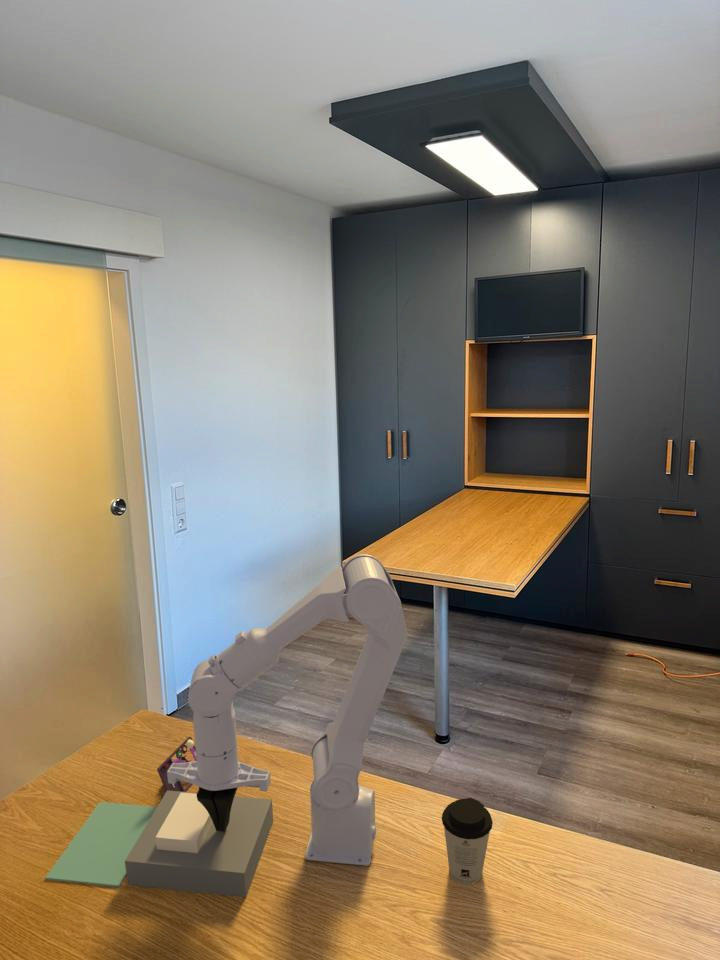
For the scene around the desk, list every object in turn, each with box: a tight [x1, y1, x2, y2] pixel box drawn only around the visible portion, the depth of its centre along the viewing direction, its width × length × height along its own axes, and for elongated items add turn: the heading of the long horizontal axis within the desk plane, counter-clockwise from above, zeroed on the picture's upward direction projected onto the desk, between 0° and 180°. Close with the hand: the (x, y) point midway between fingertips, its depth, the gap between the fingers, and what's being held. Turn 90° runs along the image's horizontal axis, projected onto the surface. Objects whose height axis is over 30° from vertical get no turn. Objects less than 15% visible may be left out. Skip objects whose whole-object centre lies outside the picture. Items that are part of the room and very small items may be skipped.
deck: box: [125, 790, 274, 898], centre depth 97 cm, size 17×14×4 cm
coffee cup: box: [441, 797, 494, 885], centre depth 92 cm, size 7×7×10 cm
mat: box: [44, 801, 157, 888], centre depth 100 cm, size 11×15×1 cm
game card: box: [156, 736, 197, 792], centre depth 111 cm, size 7×5×9 cm
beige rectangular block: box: [156, 792, 213, 853], centre depth 97 cm, size 6×9×2 cm, turn 172°
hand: (222, 826), depth 96 cm, fingers closed
